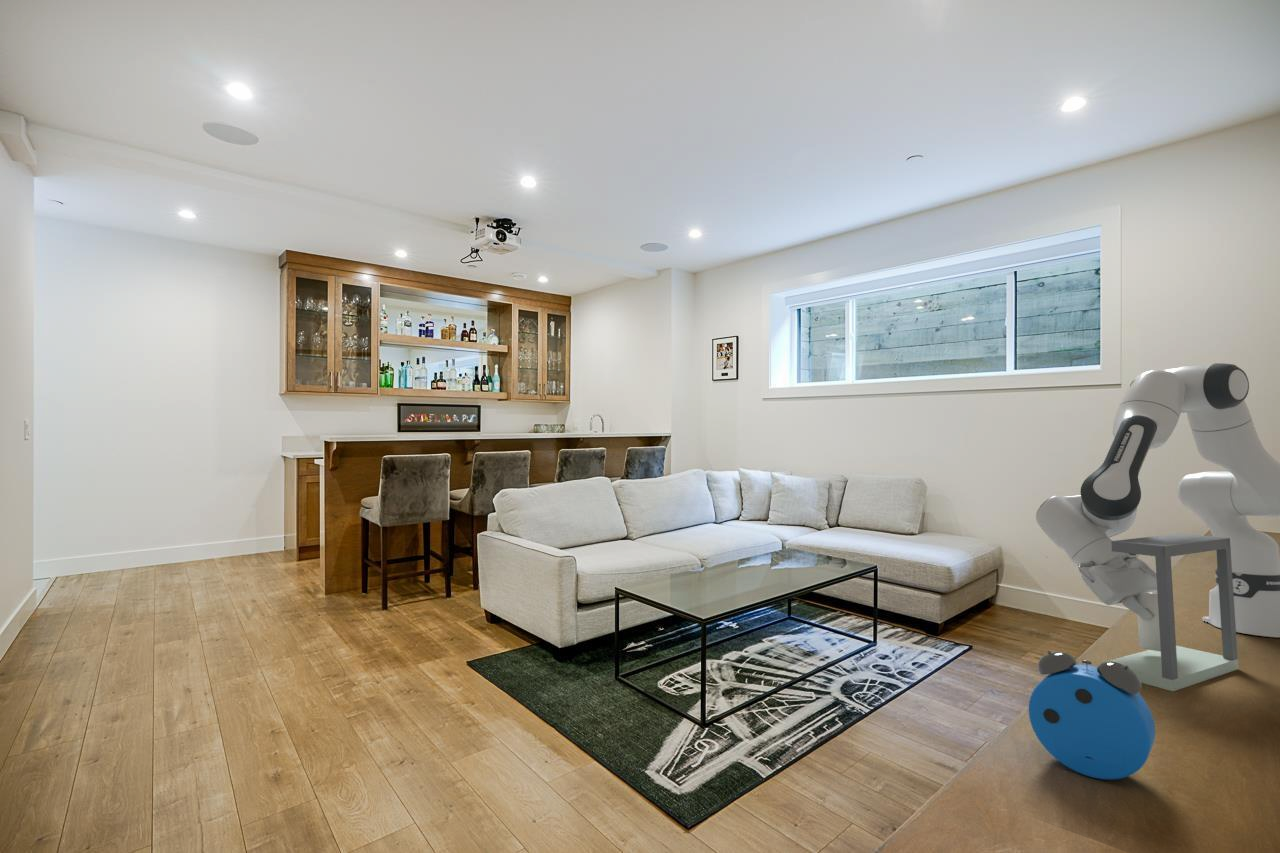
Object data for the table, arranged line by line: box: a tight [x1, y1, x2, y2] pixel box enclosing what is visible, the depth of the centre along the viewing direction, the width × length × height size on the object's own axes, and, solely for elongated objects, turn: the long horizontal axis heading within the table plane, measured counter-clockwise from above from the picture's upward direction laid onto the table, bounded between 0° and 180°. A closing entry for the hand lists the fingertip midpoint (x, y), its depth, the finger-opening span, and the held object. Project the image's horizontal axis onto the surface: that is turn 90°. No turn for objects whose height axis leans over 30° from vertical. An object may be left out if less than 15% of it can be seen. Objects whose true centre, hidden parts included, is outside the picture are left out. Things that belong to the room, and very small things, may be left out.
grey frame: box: [1108, 533, 1239, 692], centre depth 119 cm, size 26×11×26 cm, turn 116°
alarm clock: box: [1028, 650, 1156, 780], centre depth 81 cm, size 13×6×15 cm, turn 44°
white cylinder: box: [1137, 590, 1161, 652], centre depth 121 cm, size 6×6×11 cm
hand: (1158, 616), depth 120 cm, fingers closed on white cylinder, 5 cm apart
